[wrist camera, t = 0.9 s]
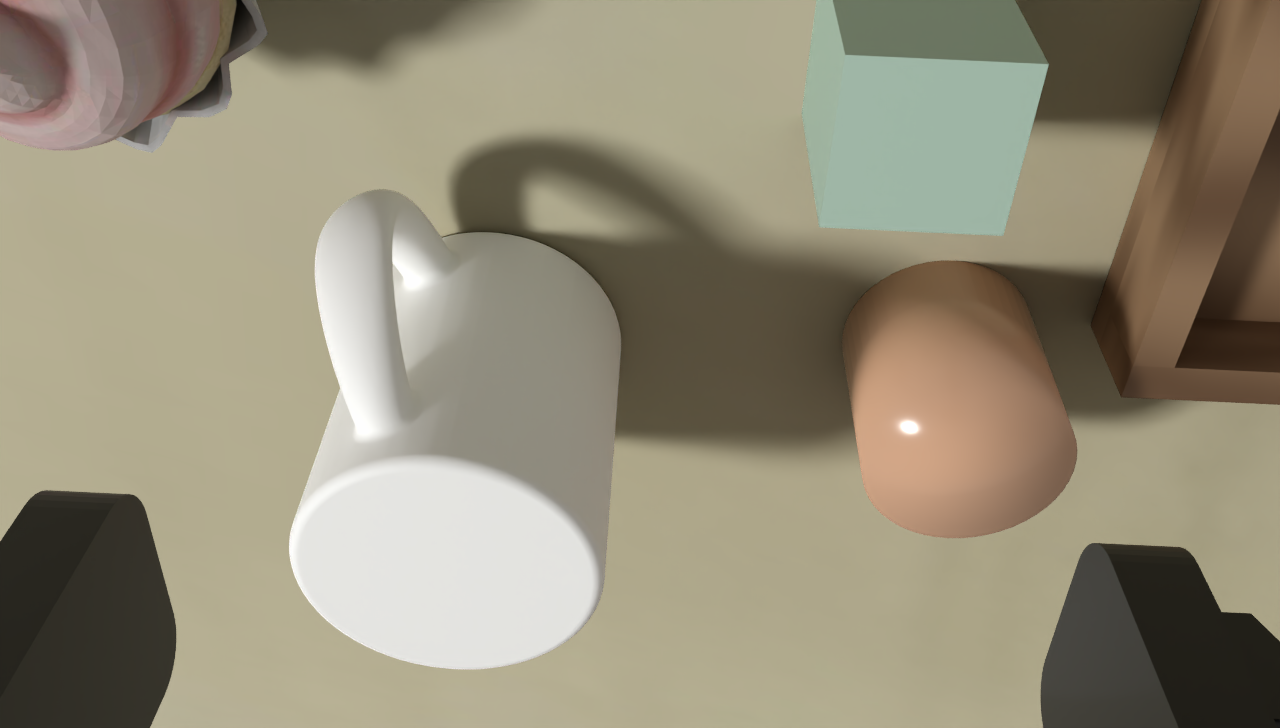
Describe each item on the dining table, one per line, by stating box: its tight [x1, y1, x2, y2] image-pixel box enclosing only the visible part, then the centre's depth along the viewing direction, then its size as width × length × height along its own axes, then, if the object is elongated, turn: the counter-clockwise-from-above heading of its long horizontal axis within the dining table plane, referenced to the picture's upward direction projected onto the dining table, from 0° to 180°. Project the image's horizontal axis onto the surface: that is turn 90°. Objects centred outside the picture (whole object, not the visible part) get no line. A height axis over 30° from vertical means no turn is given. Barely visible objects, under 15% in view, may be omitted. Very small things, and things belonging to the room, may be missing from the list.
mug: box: [289, 189, 621, 669], centre depth 34 cm, size 8×10×12 cm
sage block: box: [802, 0, 1049, 236], centre depth 30 cm, size 4×4×6 cm
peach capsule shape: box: [842, 261, 1077, 538], centre depth 37 cm, size 6×6×6 cm
